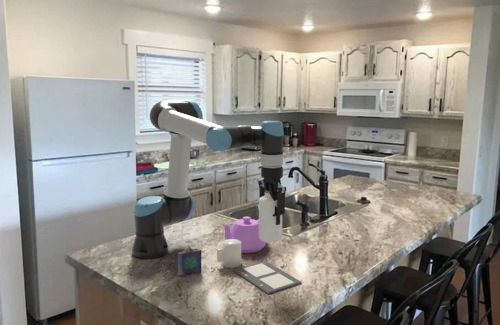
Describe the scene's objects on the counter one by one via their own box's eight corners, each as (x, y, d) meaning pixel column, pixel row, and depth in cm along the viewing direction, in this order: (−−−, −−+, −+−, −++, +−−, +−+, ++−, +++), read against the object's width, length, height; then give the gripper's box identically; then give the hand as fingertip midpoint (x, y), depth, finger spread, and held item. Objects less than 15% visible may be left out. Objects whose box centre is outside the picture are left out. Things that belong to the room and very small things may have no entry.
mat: (267, 294, 141) (267, 292, 140) (233, 271, 159) (233, 269, 158) (301, 283, 149) (301, 281, 149) (265, 262, 167) (265, 261, 167)
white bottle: (257, 235, 151) (257, 187, 148) (279, 235, 151) (280, 187, 148) (260, 243, 142) (260, 193, 140) (284, 243, 143) (284, 192, 140)
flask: (179, 277, 153) (178, 249, 151) (176, 274, 156) (176, 247, 154) (202, 272, 157) (202, 245, 156) (199, 269, 160) (199, 243, 158)
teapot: (252, 236, 198) (252, 208, 195) (278, 246, 185) (279, 217, 182) (209, 248, 182) (209, 218, 179) (235, 260, 168) (235, 228, 166)
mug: (234, 258, 171) (234, 237, 169) (244, 264, 165) (245, 243, 163) (213, 264, 165) (213, 242, 164) (222, 270, 159) (222, 248, 157)
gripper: (296, 168, 137) (295, 236, 141) (266, 161, 151) (266, 223, 155) (278, 170, 133) (277, 240, 137) (249, 163, 147) (249, 226, 151)
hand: (271, 231), depth 146 cm, fingers open, 4 cm apart
